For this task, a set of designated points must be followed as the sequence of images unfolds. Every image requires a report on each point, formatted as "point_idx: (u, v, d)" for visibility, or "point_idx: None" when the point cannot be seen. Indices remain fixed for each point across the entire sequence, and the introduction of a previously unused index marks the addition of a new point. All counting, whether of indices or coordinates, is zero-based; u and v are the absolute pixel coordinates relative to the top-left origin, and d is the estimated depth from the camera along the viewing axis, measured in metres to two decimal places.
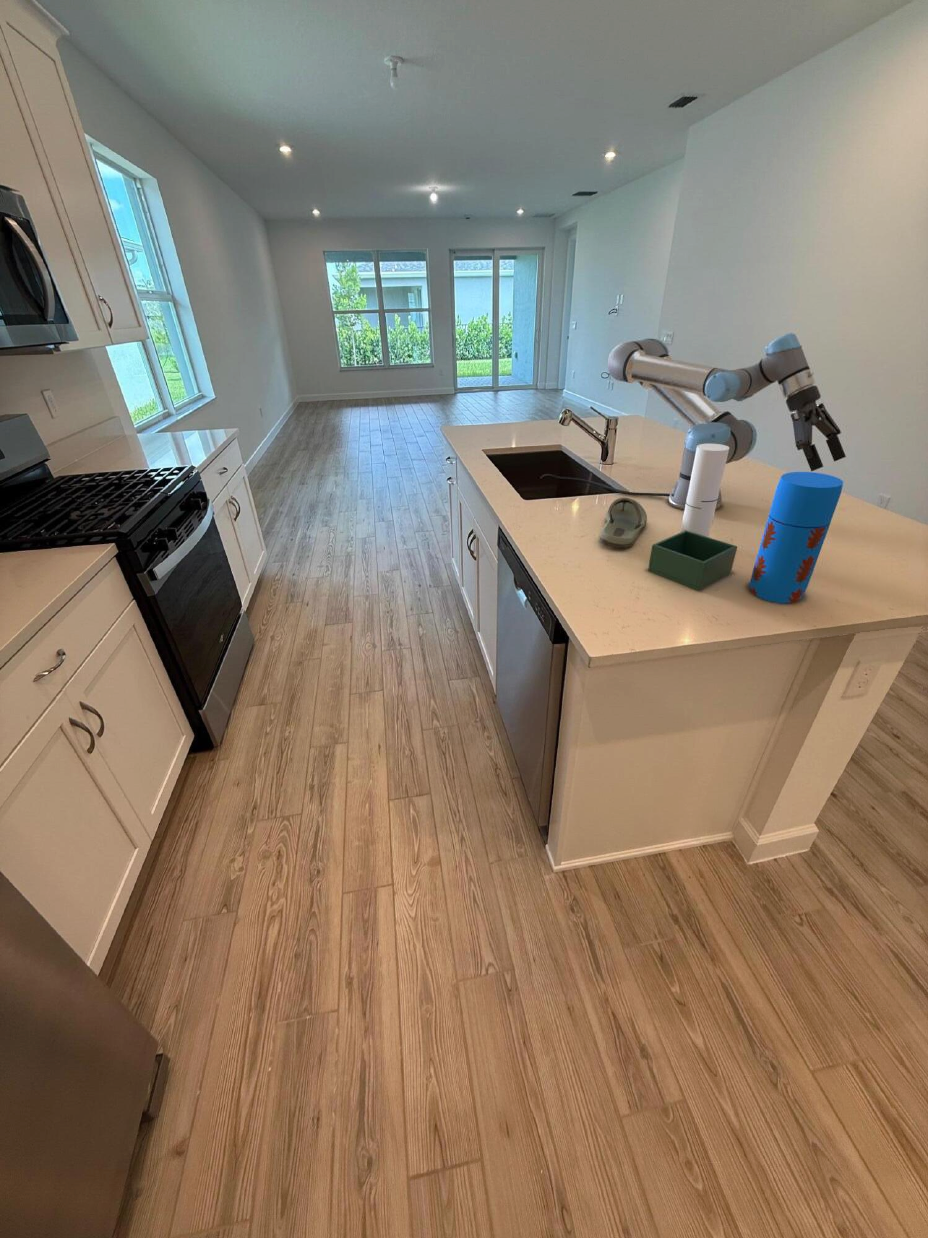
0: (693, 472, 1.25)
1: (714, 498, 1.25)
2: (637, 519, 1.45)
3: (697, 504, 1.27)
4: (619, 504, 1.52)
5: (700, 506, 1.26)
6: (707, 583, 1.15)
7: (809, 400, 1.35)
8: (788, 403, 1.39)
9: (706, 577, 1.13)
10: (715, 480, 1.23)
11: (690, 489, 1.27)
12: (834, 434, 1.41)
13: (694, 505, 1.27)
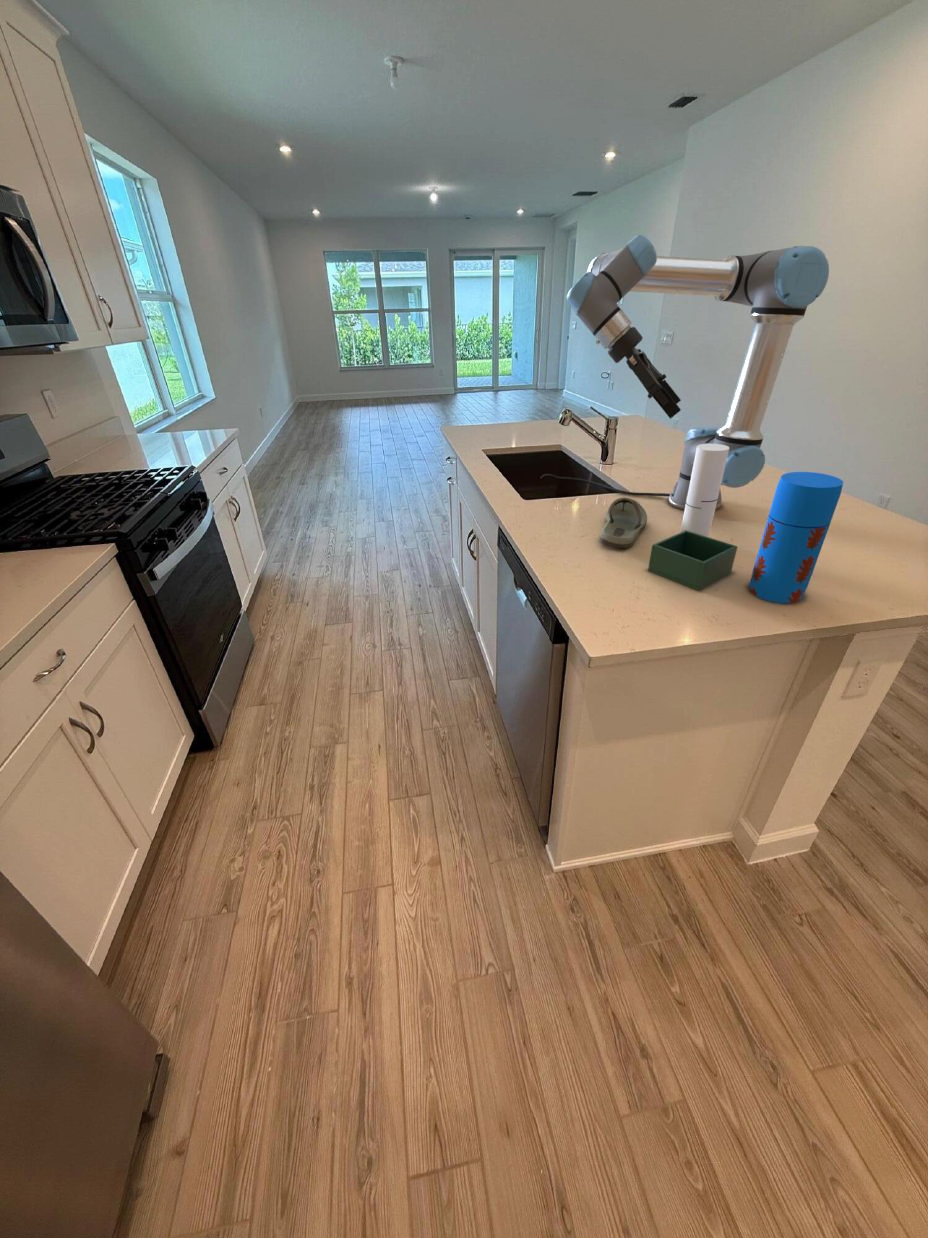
0: (693, 472, 1.25)
1: (714, 498, 1.25)
2: (637, 519, 1.45)
3: (697, 504, 1.27)
4: (619, 504, 1.52)
5: (700, 506, 1.26)
6: (707, 583, 1.15)
7: None
8: None
9: (706, 577, 1.13)
10: (715, 480, 1.23)
11: (690, 489, 1.27)
12: None
13: (694, 505, 1.27)
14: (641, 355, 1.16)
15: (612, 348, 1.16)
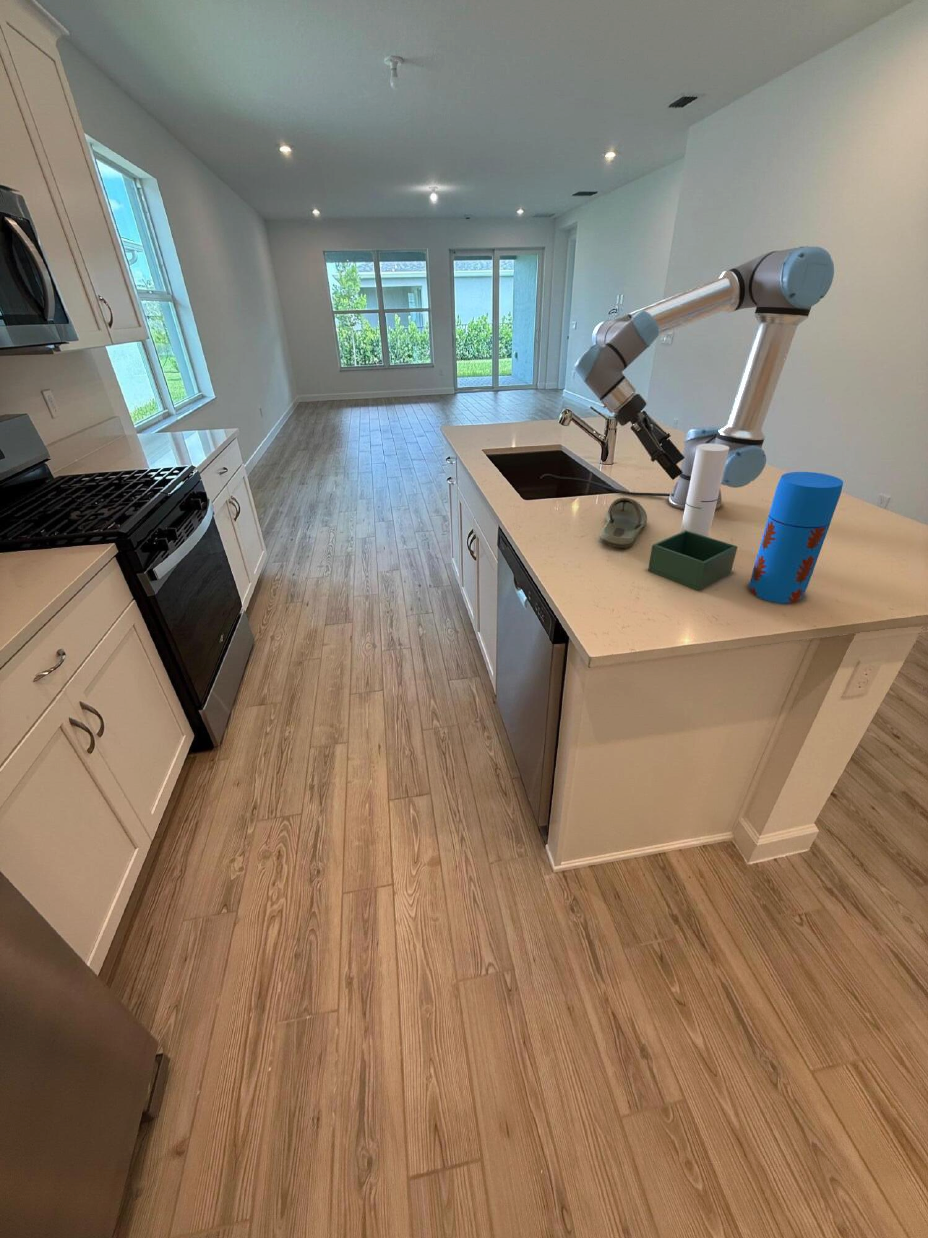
0: (693, 472, 1.25)
1: (714, 498, 1.25)
2: (637, 519, 1.45)
3: (697, 504, 1.27)
4: (619, 504, 1.52)
5: (700, 506, 1.26)
6: (707, 583, 1.15)
7: None
8: None
9: (706, 577, 1.13)
10: (715, 480, 1.23)
11: (690, 489, 1.27)
12: None
13: (694, 505, 1.27)
14: (645, 420, 1.23)
15: (618, 413, 1.23)
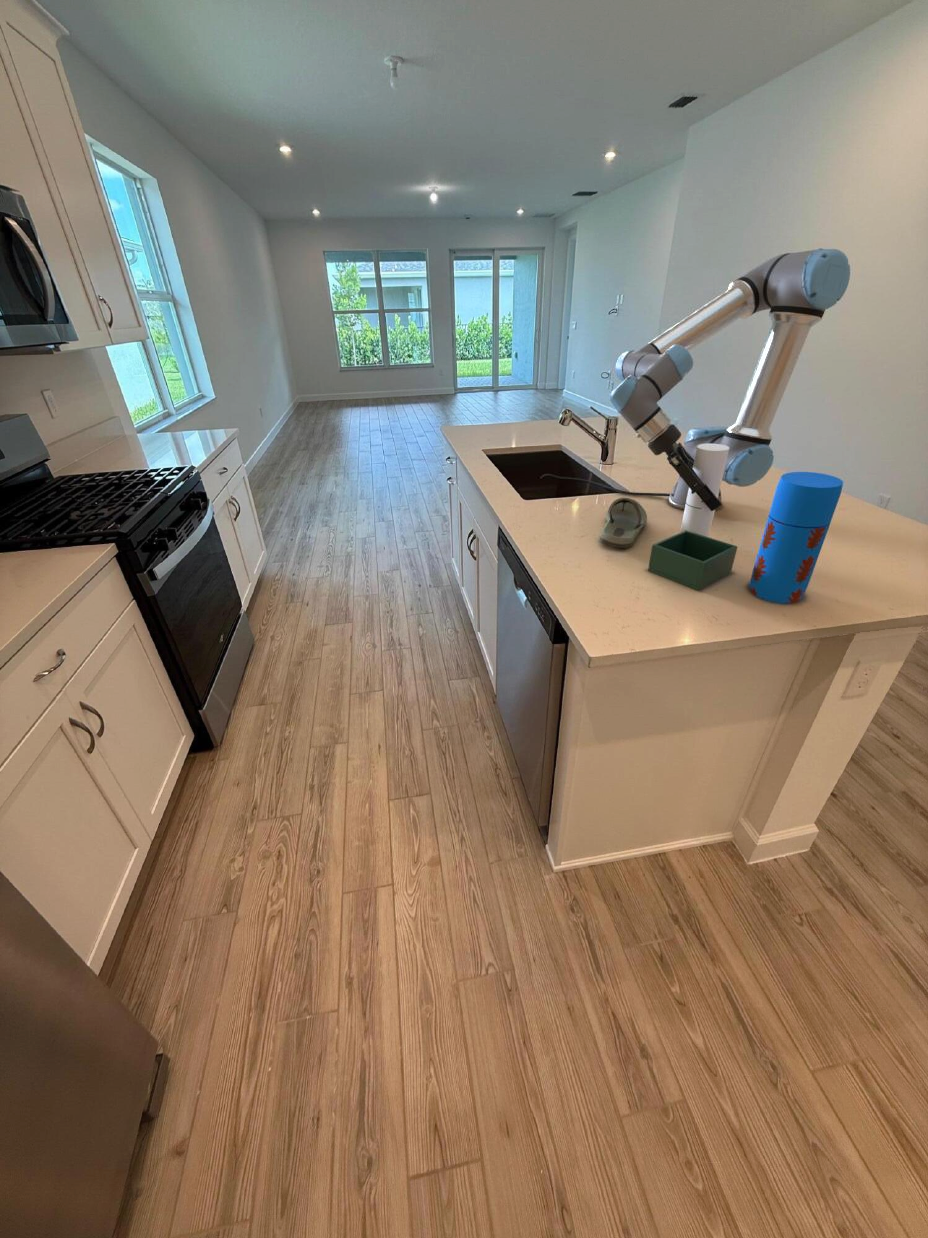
0: None
1: None
2: (637, 519, 1.45)
3: (697, 504, 1.27)
4: (619, 504, 1.52)
5: (700, 506, 1.26)
6: (707, 583, 1.15)
7: None
8: None
9: (706, 577, 1.13)
10: (715, 480, 1.23)
11: (690, 489, 1.27)
12: None
13: (694, 505, 1.27)
14: (680, 451, 1.23)
15: (653, 443, 1.24)
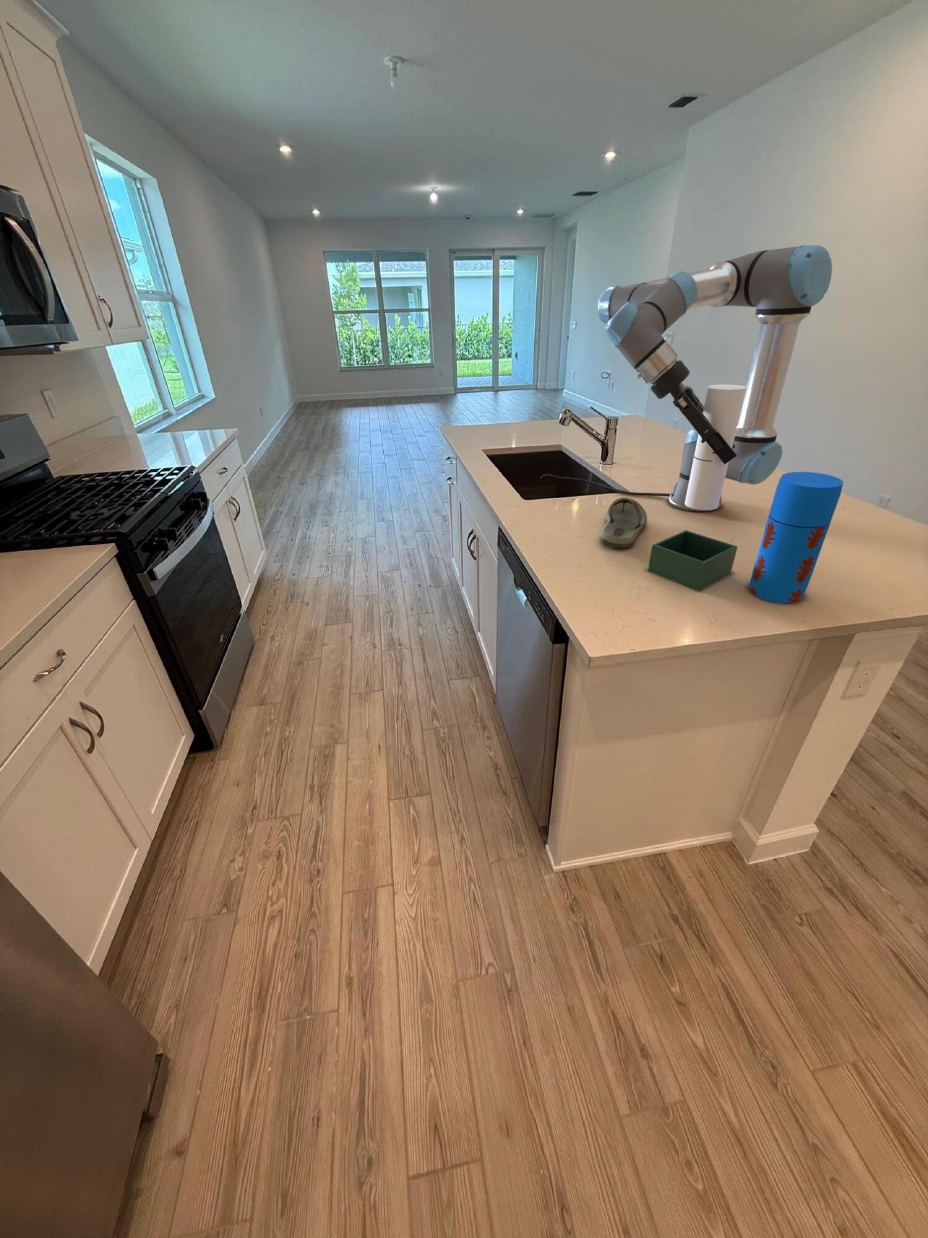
0: None
1: None
2: (637, 519, 1.45)
3: (707, 456, 1.08)
4: (619, 504, 1.52)
5: (711, 458, 1.08)
6: (707, 583, 1.15)
7: None
8: None
9: (706, 577, 1.13)
10: (729, 427, 1.04)
11: (699, 439, 1.09)
12: None
13: (704, 458, 1.09)
14: (689, 392, 1.05)
15: (656, 383, 1.05)
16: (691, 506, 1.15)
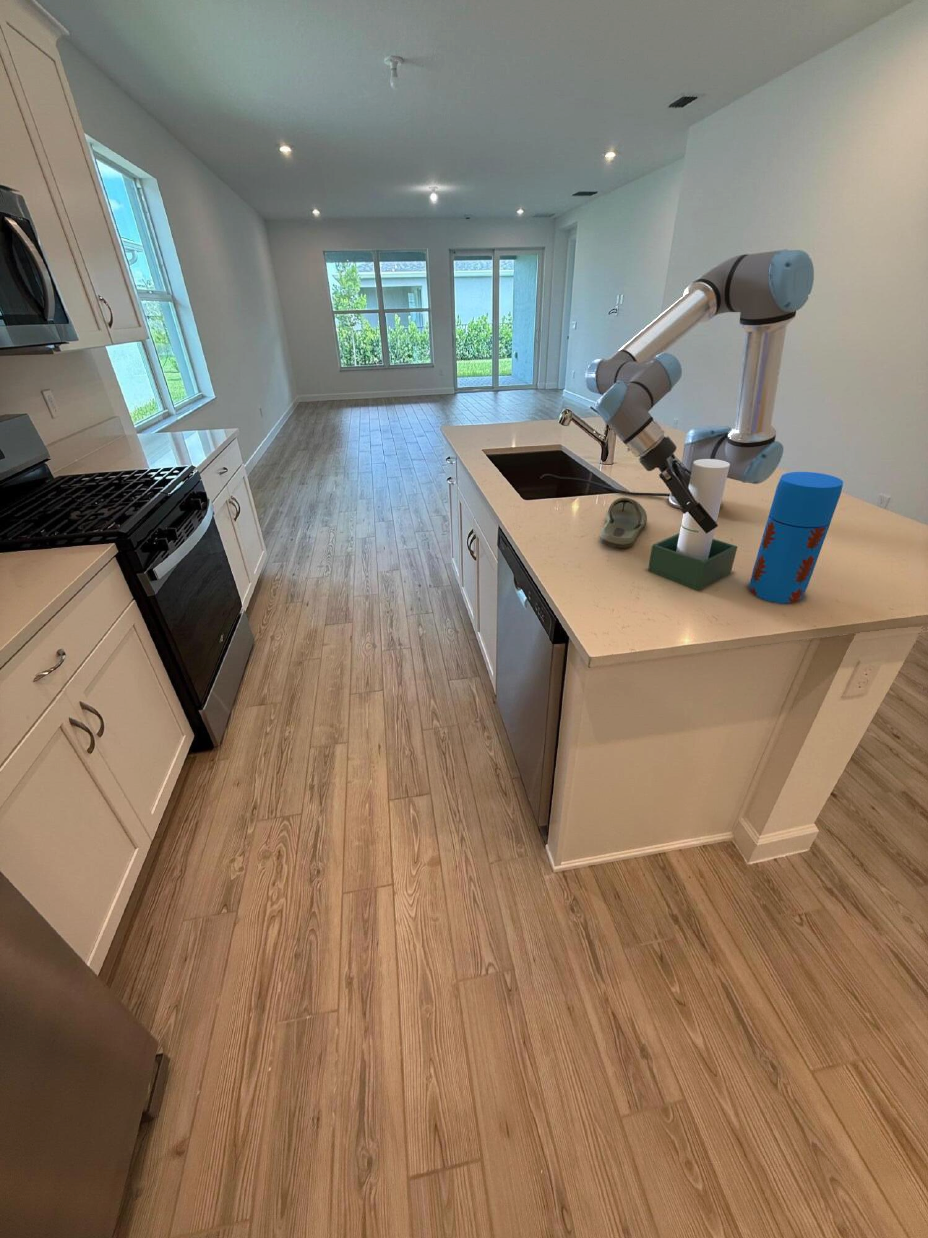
0: None
1: None
2: (637, 519, 1.45)
3: (694, 527, 1.13)
4: (619, 504, 1.52)
5: (697, 529, 1.12)
6: (707, 583, 1.15)
7: None
8: None
9: (706, 577, 1.13)
10: (714, 501, 1.09)
11: None
12: None
13: (690, 528, 1.13)
14: (675, 466, 1.09)
15: (644, 458, 1.09)
16: None
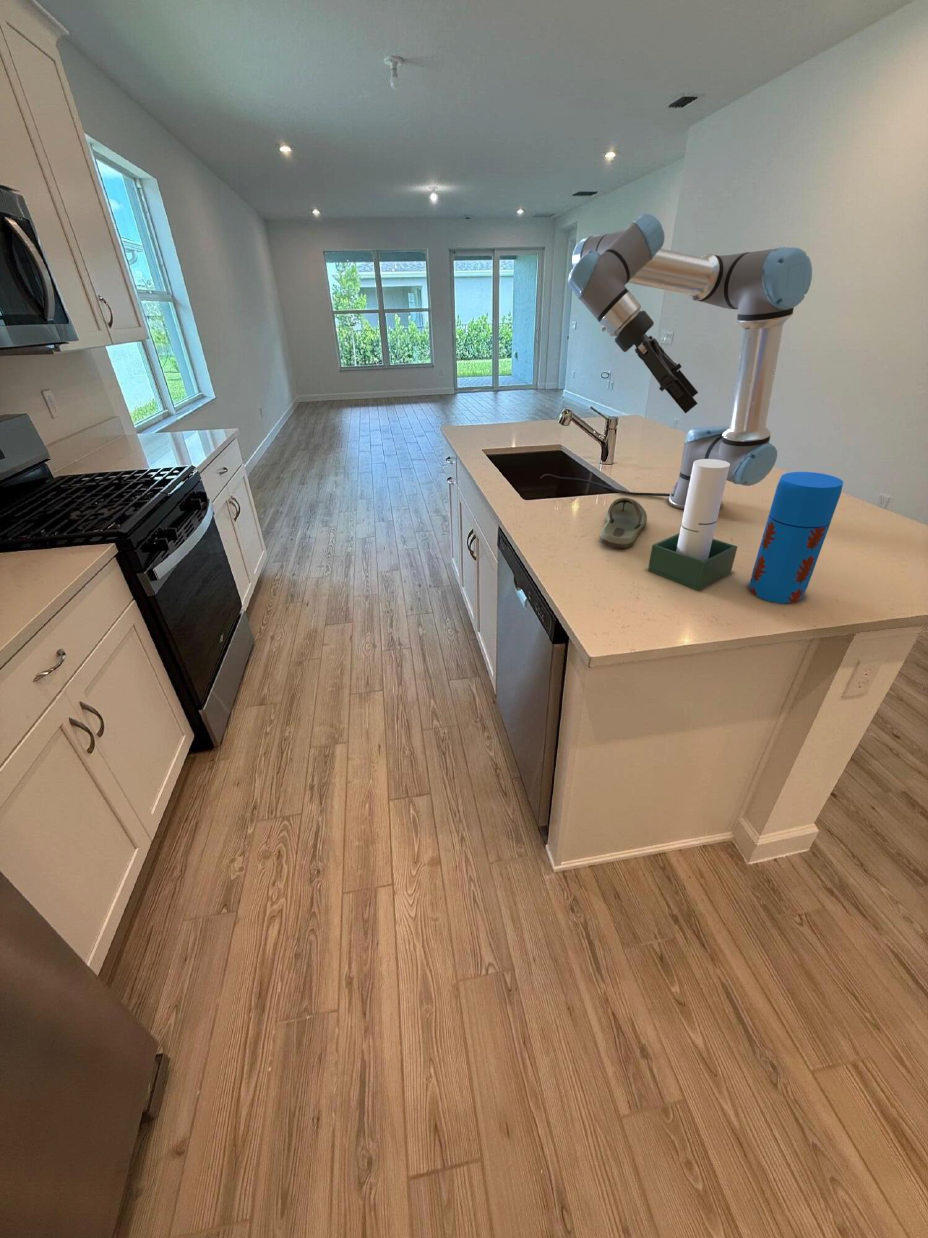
0: (689, 491, 1.11)
1: (713, 520, 1.11)
2: (637, 519, 1.45)
3: (694, 527, 1.13)
4: (619, 504, 1.52)
5: (697, 529, 1.12)
6: (707, 583, 1.15)
7: None
8: None
9: (706, 577, 1.13)
10: (714, 501, 1.09)
11: (686, 510, 1.13)
12: None
13: (690, 528, 1.13)
14: (652, 342, 1.03)
15: (619, 335, 1.03)
16: None
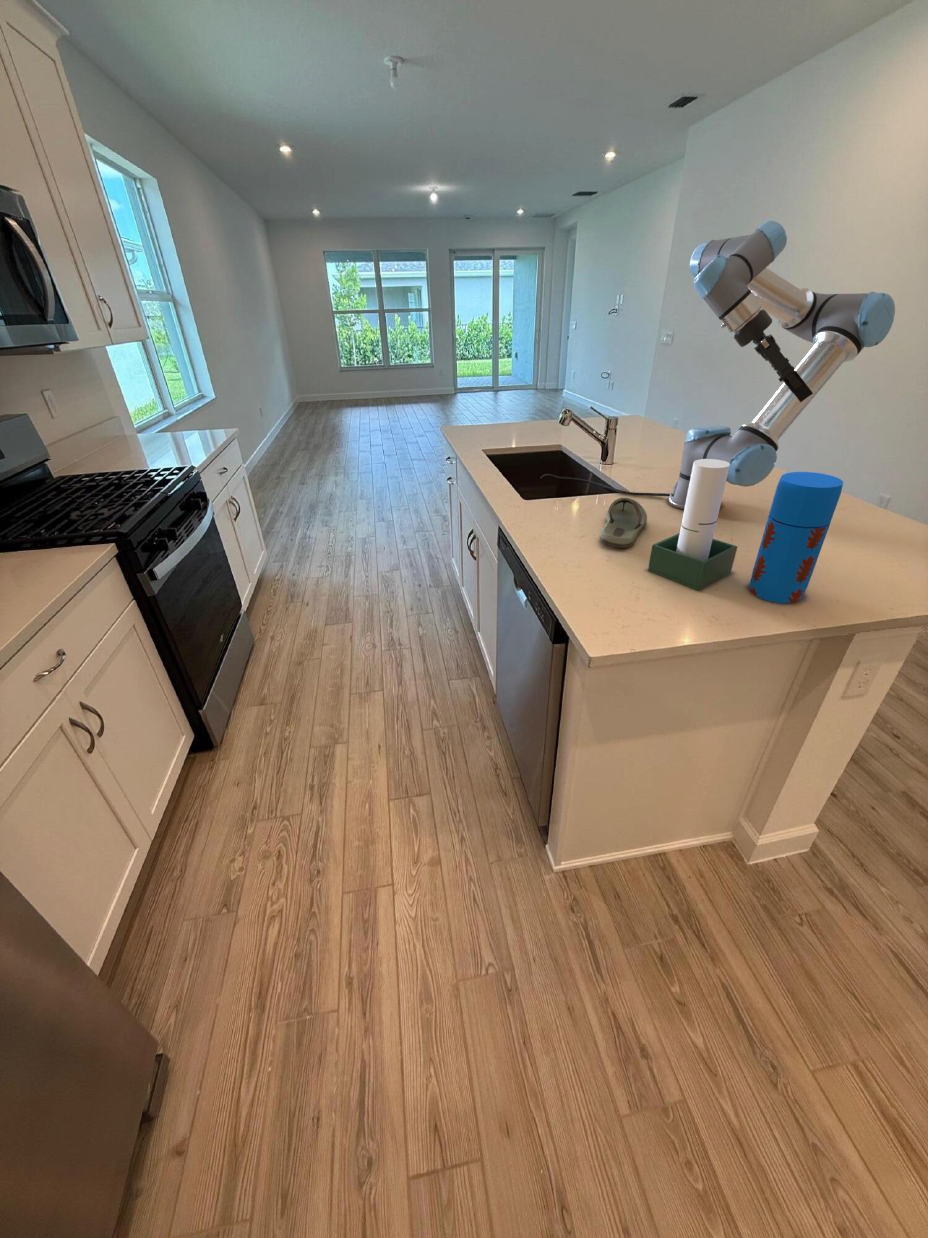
0: (689, 491, 1.11)
1: (713, 520, 1.11)
2: (637, 519, 1.45)
3: (694, 527, 1.13)
4: (619, 504, 1.52)
5: (697, 529, 1.12)
6: (707, 583, 1.15)
7: None
8: None
9: (706, 577, 1.13)
10: (714, 501, 1.09)
11: (686, 510, 1.13)
12: None
13: (690, 528, 1.13)
14: (771, 338, 1.14)
15: (741, 331, 1.15)
16: None
